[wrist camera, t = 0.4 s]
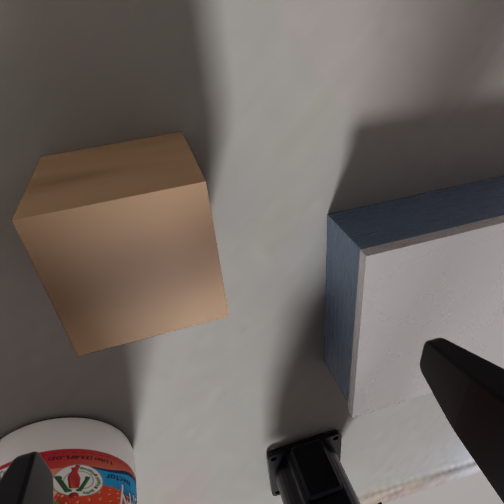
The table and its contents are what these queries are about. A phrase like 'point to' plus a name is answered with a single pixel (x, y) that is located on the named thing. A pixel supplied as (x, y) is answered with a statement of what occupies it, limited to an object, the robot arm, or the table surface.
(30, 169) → the table surface
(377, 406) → the slate tin
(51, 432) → the fruit juice
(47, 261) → the walnut block
